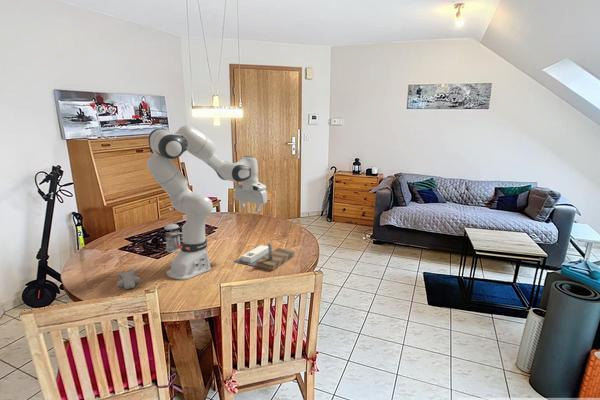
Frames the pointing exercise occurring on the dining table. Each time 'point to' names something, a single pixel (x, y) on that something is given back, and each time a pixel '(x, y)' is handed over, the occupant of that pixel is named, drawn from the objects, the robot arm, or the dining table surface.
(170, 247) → the french press
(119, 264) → the dining table surface
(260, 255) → the link
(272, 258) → the stand
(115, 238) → the dining table surface
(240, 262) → the mat
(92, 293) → the dining table surface
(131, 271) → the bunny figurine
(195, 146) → the robot arm
